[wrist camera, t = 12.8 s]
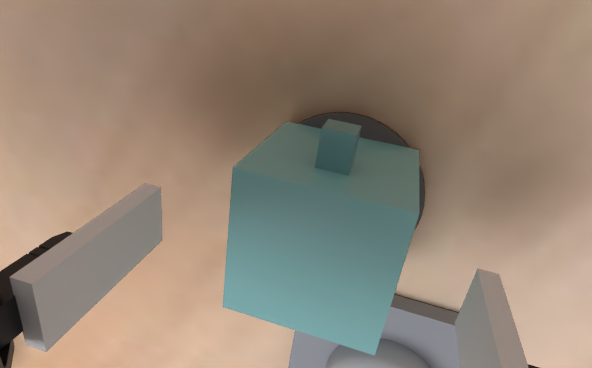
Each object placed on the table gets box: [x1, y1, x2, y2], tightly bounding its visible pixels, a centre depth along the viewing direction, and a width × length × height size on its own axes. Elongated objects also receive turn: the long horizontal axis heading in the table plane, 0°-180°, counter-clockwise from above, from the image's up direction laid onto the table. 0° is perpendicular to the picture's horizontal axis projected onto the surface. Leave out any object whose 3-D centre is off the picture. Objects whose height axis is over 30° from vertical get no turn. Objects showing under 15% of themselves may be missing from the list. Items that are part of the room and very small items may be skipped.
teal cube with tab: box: [223, 119, 419, 356], centre depth 19 cm, size 9×7×7 cm
